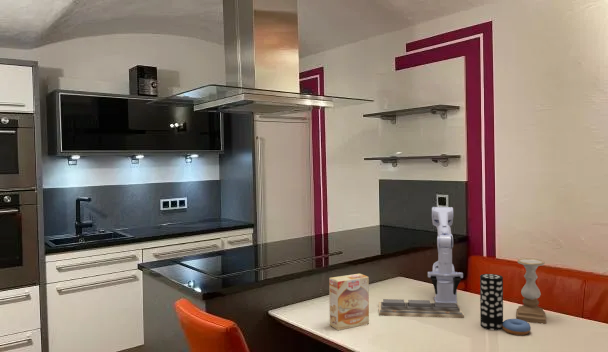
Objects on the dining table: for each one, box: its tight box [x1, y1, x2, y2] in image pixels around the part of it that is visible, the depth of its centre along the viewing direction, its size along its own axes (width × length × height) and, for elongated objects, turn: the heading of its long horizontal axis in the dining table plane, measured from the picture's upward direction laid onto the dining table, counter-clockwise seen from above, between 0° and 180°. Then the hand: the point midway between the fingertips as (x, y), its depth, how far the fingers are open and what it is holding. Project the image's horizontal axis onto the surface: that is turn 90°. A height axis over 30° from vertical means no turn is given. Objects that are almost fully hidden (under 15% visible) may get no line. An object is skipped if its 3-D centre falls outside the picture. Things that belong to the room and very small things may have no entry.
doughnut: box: [502, 318, 532, 336], centre depth 184 cm, size 10×10×5 cm
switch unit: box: [378, 301, 465, 319], centre depth 210 cm, size 35×15×3 cm, turn 82°
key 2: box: [433, 302, 457, 308], centre depth 208 cm, size 9×5×2 cm, turn 82°
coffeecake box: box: [328, 273, 370, 331], centre depth 194 cm, size 15×7×20 cm, turn 117°
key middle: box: [408, 299, 431, 307], centre depth 209 cm, size 9×5×2 cm, turn 82°
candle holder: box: [515, 257, 547, 325], centre depth 198 cm, size 11×11×24 cm
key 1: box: [382, 298, 405, 306], centre depth 211 cm, size 9×5×2 cm, turn 82°
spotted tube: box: [479, 273, 504, 331], centre depth 189 cm, size 8×8×20 cm
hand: (445, 293), depth 208 cm, fingers open, 7 cm apart
